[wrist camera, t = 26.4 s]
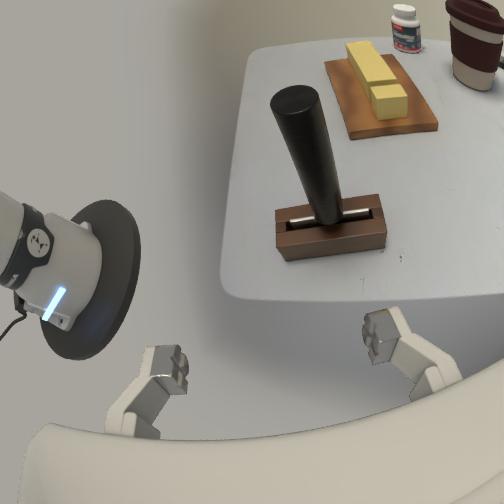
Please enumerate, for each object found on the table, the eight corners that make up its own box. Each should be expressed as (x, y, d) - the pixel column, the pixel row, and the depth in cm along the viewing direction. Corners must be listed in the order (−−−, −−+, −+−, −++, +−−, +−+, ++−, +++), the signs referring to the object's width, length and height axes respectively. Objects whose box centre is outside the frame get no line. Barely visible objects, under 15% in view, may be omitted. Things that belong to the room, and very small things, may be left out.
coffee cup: (447, 86, 29) (449, 2, 16) (443, 58, 31) (440, -14, 18) (502, 104, 24) (517, 24, 11) (492, 73, 26) (498, 3, 14)
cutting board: (350, 140, 31) (349, 131, 30) (325, 68, 38) (324, 61, 37) (437, 130, 27) (438, 122, 26) (392, 60, 34) (392, 53, 33)
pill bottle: (390, 49, 36) (385, 8, 28) (398, 39, 36) (393, 1, 29) (417, 56, 33) (415, 14, 25) (423, 46, 34) (421, 7, 26)
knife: (301, 253, 28) (229, 130, 14) (299, 230, 29) (232, 101, 15) (370, 244, 26) (366, 101, 11) (366, 220, 27) (353, 74, 12)
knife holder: (285, 261, 28) (276, 247, 25) (284, 226, 30) (274, 209, 27) (384, 248, 25) (387, 232, 22) (377, 212, 27) (378, 193, 24)
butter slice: (377, 120, 29) (376, 98, 26) (372, 107, 30) (370, 86, 27) (407, 117, 28) (407, 96, 25) (400, 104, 29) (400, 83, 26)
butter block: (369, 102, 31) (367, 81, 28) (348, 60, 35) (344, 43, 32) (397, 99, 29) (396, 78, 26) (371, 58, 34) (369, 40, 31)
